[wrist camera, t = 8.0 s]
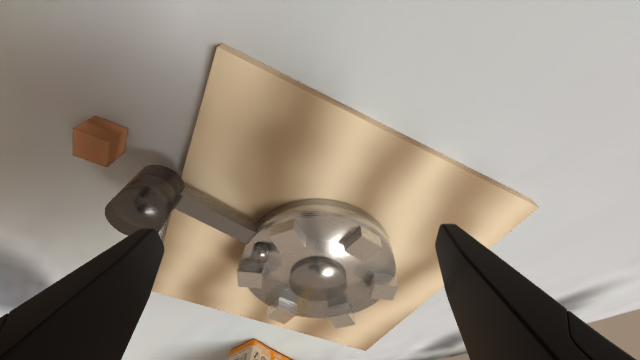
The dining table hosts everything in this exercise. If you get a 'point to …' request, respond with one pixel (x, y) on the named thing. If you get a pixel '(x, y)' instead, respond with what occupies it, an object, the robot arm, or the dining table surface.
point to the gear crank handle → (279, 247)
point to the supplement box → (255, 352)
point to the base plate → (309, 190)
